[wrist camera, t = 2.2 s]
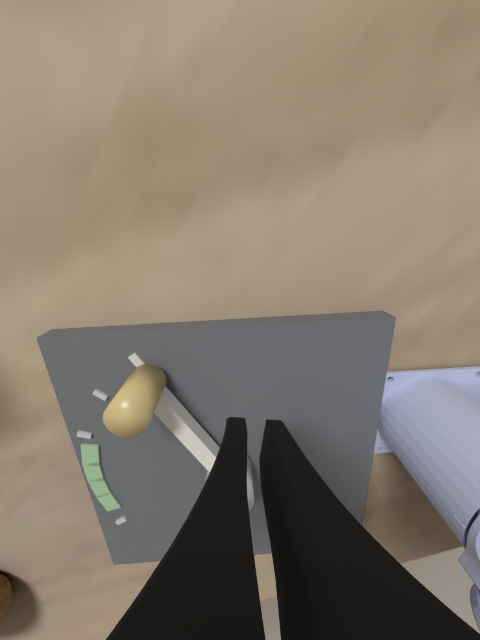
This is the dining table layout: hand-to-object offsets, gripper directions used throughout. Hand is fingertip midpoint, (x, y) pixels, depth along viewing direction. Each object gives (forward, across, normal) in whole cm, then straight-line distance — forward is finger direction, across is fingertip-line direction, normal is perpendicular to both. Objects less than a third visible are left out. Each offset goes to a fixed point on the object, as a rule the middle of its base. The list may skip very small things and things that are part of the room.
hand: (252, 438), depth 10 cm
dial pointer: (+8, +3, +7) cm, 11 cm away
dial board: (+9, 0, +10) cm, 14 cm away
